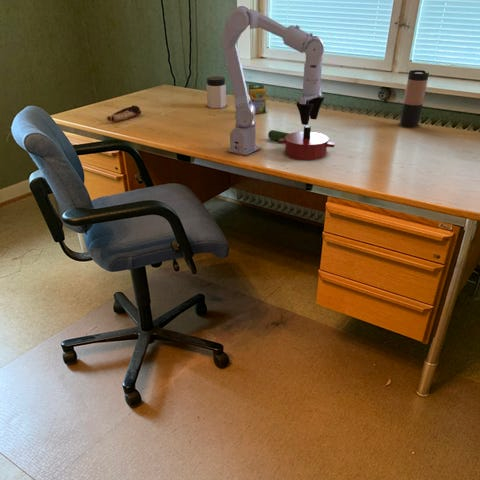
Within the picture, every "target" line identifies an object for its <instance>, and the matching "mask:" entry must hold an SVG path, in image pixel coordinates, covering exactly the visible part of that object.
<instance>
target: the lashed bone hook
mask: <svg viewBox="0 0 480 480" xmlns="http://www.w3.org/2000/svg"><path fill="white" fill-rule="evenodd" d="M141 114H142V109H141V108H140V107H139V106H138V105H134V104H133V105H131V106H128V107H124V108H122V109H119V110H117V111H116V112H114V113H113V114H111V115H108V116H107V117H106V118H107V121H109V122H119V121H126V120H128V119H132V118H135V117H137V116H139V115H141Z"/></svg>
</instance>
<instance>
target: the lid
mask: <svg viewBox="0 0 480 480" xmlns="http://www.w3.org/2000/svg"><path fill="white" fill-rule="evenodd" d="M285 141H286V142H288V143H290V144H293V145H298V146H319V145H323V144H325V143H327V142H330V138H329V136H327V135H326V134H323V133H320V132H316V131H312V126H311V125H303V131H294V132H290V134H288V135H286V136H285Z"/></svg>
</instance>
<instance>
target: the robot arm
mask: <svg viewBox="0 0 480 480" xmlns="http://www.w3.org/2000/svg"><path fill="white" fill-rule="evenodd" d="M248 27H249V30H253V29H262V30H264V31H266V32H268V33H270V34H273V35H274V36H277V37H279V38H281V39H282V42H283V44H284V45H285V46H286V47H289V48H290V49H293V50H295V51H297V52H299V53H301V54H303V53H304V54H305V62H304V66H303V81H302V93H301V95H300V97H299V101H297V102H296V107H297V110H298V112H299V113H298V114H299V117H300V123H301V125H303V126H309V123H310V120H317V118H318V115H319V112H320V110H321V106H322V104H323V102H324V101H325V96H324V95H323V89H321V84H322V83H321V82H322V70H323V63H322V62H323V54H324V52H325V49H324V42H323V40H322V39H321V38H320V37H319V36H318V35H314V33H313V32H310V33H309V32H306V31H304V30H303V29H301V28H300V25H298V24H296V25H290V26H285V25H283V24H281V23H279V22H278V21H275V20H274V19H272V18H271V17H269V16H267V15H265V14H263V13H261V12H259V11H257V10H255V9H252V8H248V7H246V6H244V5H240V6H236V7H235V9H233V10H232V11H231V12H230V14H229V15H228V16H227V18H226V20H225V23H224V27H223V31H222V34H221V39H220V45H221V48H222V53H223V56H224V61H225V65H226V68H227V74H228V76H229V80H230V84H231V89H232V93H233V98H234V107H235V115H234V117H235V125H234V128H232V130H231V131H230V133H229V149H228V151H227V152H229V153H233V154H238V155H242V156H248V155H250V154H251V153H254V152H256V151H258V150H260V149H261V146H257V145H256V135H257V133H256V132H257V131H256V129H257V127H256V126H257V125H256V121H255V120H254V117H255V115H256V113H255V112H256V110H255V106H254V105H253V104H252V102H251V100H250V96H249V90H248V88H247V83H246V79H245V74H244V70H243V65H242V60H241V57H240V52H239V48H238V44H237V43H238V41H239V39H240V37H241V35H242V34H243V32H245V31H246V30H247V29H248Z"/></svg>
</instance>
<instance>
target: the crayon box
mask: <svg viewBox="0 0 480 480" xmlns="http://www.w3.org/2000/svg"><path fill="white" fill-rule="evenodd" d="M248 94H249V96H250V100H251V102H252V104H253V105H254V106H255V110H256V112H255V114H265V113H266V109H267V108H266V106H267V89H266V88H265V83H251V84H250V83H249V84H248Z"/></svg>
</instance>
